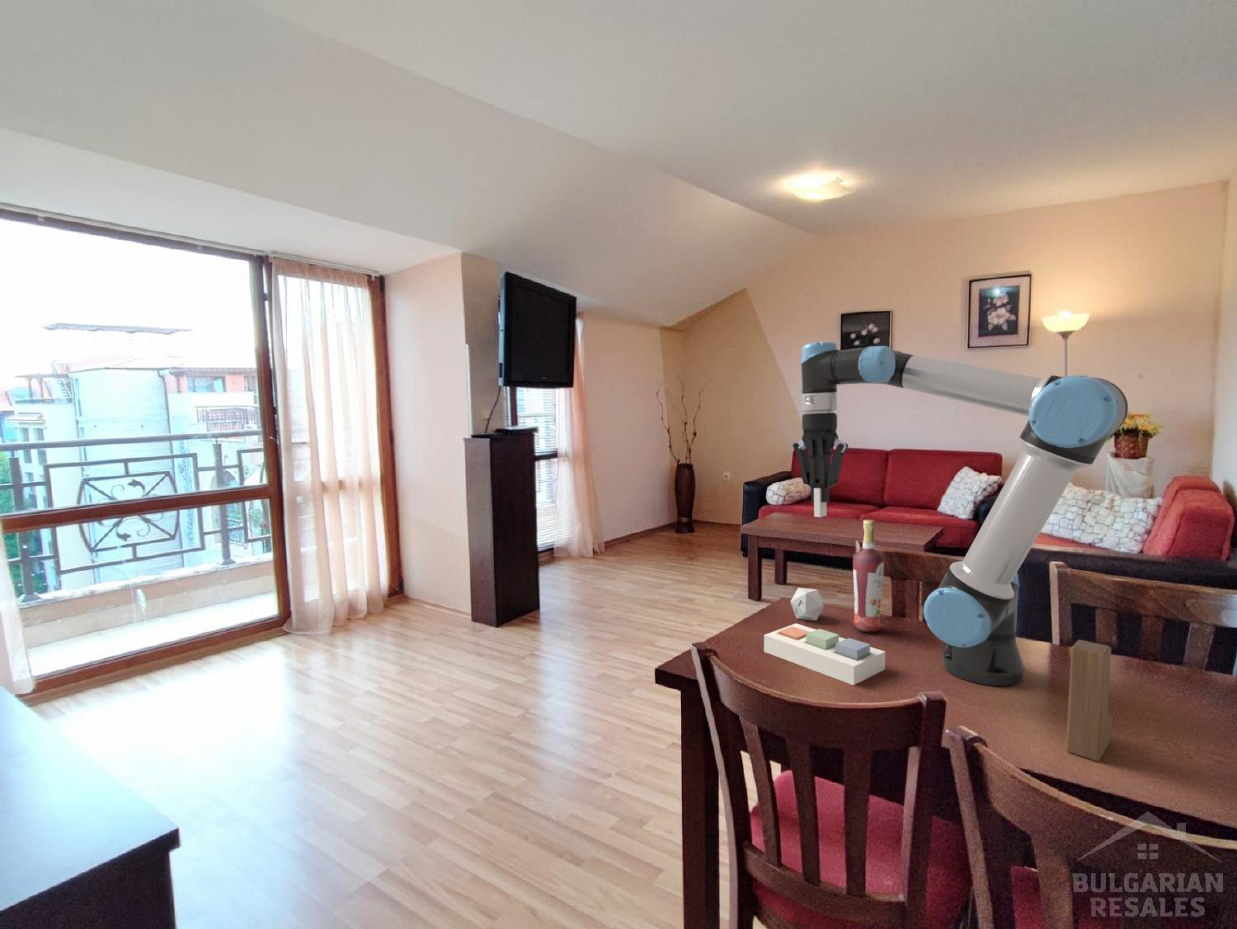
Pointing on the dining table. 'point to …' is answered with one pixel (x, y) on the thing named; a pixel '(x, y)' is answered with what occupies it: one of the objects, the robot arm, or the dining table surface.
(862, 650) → the slate button
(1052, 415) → the robot arm
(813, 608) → the die
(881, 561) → the liquor
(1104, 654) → the wooden block
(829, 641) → the sage button
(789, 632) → the terracotta button
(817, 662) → the control panel
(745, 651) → the dining table surface
